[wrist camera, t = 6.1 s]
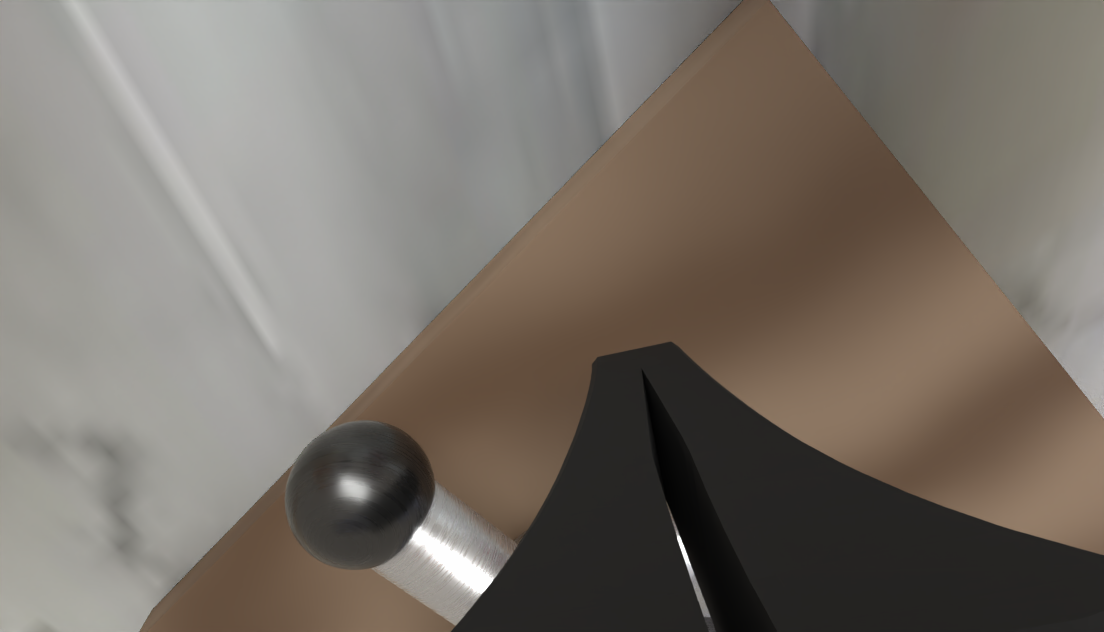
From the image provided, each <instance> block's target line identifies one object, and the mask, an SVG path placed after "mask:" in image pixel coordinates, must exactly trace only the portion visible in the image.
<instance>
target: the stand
mask: <svg viewBox="0 0 1104 632" xmlns="http://www.w3.org/2000/svg"><path fill="white" fill-rule="evenodd" d="M670 341H671V342H673V343H674V344H676V345H677V346H679V347H680V348H681V349H682V350H683V351H684V352H685V353H686V354H687V355H688V356H689V357H690V358H691V359H692V360H693V361H694V362H695V363H696V364H697V365H699V366H700V367H701V368H702V369H703V370H704V371H705V372H707V373H708V374H709V375H710V376H711V377H712V378H713V379H715V380H716V381H717V382H718V383H720V384H721V385H722V386H723V387H724V388H726V389H727V390H728V391H730V392H731V393H732V394H734V395H735V396H736V397H737V398H739V399H740V400H741V401H743V402H744V403H745V404H746V405H748V406H749V407H751V408H752V409H753V410H755V411H756V412H758V413H759V414H760V415H762V416H763V417H765V418H766V419H768V420H769V421H771V422H772V423H774V424H775V425H777V426H778V427H780V428H781V429H783V430H784V431H786V432H787V433H789V434H791V435H792V436H794V437H795V438H797V439H799V440H800V441H802V442H804V443H806V444H807V445H809V446H811V447H813V448H815V449H817V450H818V451H820V452H822V453H824V454H826V455H828V456H830V457H831V458H833V459H835V460H837V461H839V462H841V463H843V464H845V465H847V466H849V467H851V468H853V469H855V470H858V471H860V472H862V473H864V474H866V475H869V476H871V477H873V478H875V479H878V480H880V481H882V482H885V483H887V484H889V485H891V486H894V487H896V488H898V489H901V490H903V491H905V492H908V493H910V494H913V495H915V496H918V497H920V498H923V499H926V500H928V501H931V502H933V503H936V504H939V505H941V506H944V507H947V508H950V509H953V510H955V511H958V512H961V513H964V514H967V515H970V516H973V517H976V518H979V519H981V520H984V521H987V522H990V523H993V524H996V525H999V526H1002V527H1005V528H1008V529H1012V530H1015V531H1019V532H1023V533H1026V534H1030V535H1033V536H1037V537H1040V538H1044V539H1047V540H1051V541H1055V542H1058V543H1062V544H1065V545H1069V546H1072V547H1076V548H1080V549H1083V550H1087V551H1090V552H1094V553H1097V554H1101V555H1104V419H1103V417H1102V416H1101V415H1100V414H1099V412H1098V411H1097V410H1096V409H1095V407H1094V406H1093V405H1092V403H1091V402H1090V401H1089V400H1088V398H1087V397H1086V396H1085V395H1084V393H1083V392H1082V391H1081V390H1080V388H1079V387H1078V386H1077V385H1076V383H1075V382H1074V381H1073V380H1072V378H1071V377H1070V376H1069V375H1068V373H1067V372H1066V371H1065V370H1064V368H1063V367H1062V366H1061V365H1060V363H1059V362H1058V361H1057V360H1056V358H1055V357H1054V356H1053V355H1052V353H1051V352H1050V351H1049V350H1048V348H1047V347H1046V346H1045V345H1044V343H1043V342H1042V341H1041V340H1040V338H1039V337H1038V336H1037V335H1036V333H1035V332H1034V331H1033V330H1032V328H1031V327H1030V326H1029V325H1028V323H1027V322H1026V321H1025V320H1024V318H1023V317H1022V316H1021V315H1020V313H1019V312H1018V311H1017V310H1016V308H1015V307H1014V306H1013V305H1012V303H1011V302H1010V301H1009V300H1008V298H1007V297H1006V296H1005V295H1004V293H1003V292H1002V291H1001V290H1000V288H999V287H998V286H997V284H996V283H995V282H994V281H993V279H992V278H991V277H990V276H989V274H988V273H987V272H986V271H985V269H984V268H983V267H982V266H981V264H980V263H979V262H978V261H977V259H976V258H975V257H974V256H973V254H972V253H971V252H970V251H969V249H968V248H967V247H966V246H965V244H964V243H963V242H962V241H961V239H960V238H959V237H958V236H957V234H956V233H955V232H954V231H953V229H952V228H951V227H950V226H949V224H948V223H947V222H946V221H945V219H944V218H943V217H942V216H941V214H940V213H939V212H938V211H937V209H936V208H935V207H934V206H933V204H932V203H931V202H930V201H929V199H928V198H927V197H926V196H925V194H924V193H923V192H922V191H921V189H920V188H919V187H918V186H917V184H916V183H915V182H914V181H913V179H912V178H911V177H910V176H909V174H908V173H907V172H906V171H905V169H904V168H903V167H902V165H901V164H900V163H899V162H898V160H897V159H896V158H895V157H894V155H893V154H892V153H891V152H890V150H889V149H888V148H887V147H886V145H885V144H884V143H883V142H882V140H881V139H880V138H879V137H878V135H877V134H876V133H875V132H874V130H873V129H872V128H871V127H870V125H869V124H868V123H867V122H866V120H865V119H864V118H863V117H862V115H861V114H860V113H859V112H858V110H857V109H856V108H855V107H854V105H853V104H852V103H851V102H850V100H849V99H848V98H847V97H846V95H845V94H844V93H843V92H842V90H841V89H840V88H839V87H838V85H837V84H836V83H835V82H834V80H833V79H832V78H831V77H830V75H829V74H828V73H827V72H826V70H825V69H824V68H823V67H822V65H821V64H820V63H819V62H818V60H817V59H816V58H815V57H814V55H813V54H812V53H811V52H810V50H809V49H808V48H807V46H806V45H805V44H804V43H803V41H802V40H801V39H800V38H799V36H798V35H797V34H796V33H795V31H794V30H793V29H792V28H791V26H790V25H789V24H788V23H787V21H786V20H785V19H784V18H783V16H782V15H781V14H780V13H779V11H778V10H777V9H776V8H775V6H774V5H773V4H772V3H771V1H770V0H743V1H742V2H741V3H740V4H739V5H738V6H737V7H736V8H735V10H734V11H733V12H732V13H731V14H730V15H729V16H728V17H727V18H726V19H725V20H724V21H723V22H722V23H721V24H720V25H719V26H718V27H717V28H716V29H715V30H714V31H713V32H712V33H711V34H710V35H709V36H708V37H707V38H706V39H705V40H704V41H703V42H702V44H701V45H700V46H699V47H698V48H697V49H696V50H695V51H694V52H693V53H692V54H691V55H690V56H689V57H688V58H687V59H686V60H685V61H684V62H683V63H682V64H681V65H680V66H679V67H678V68H677V69H676V70H675V71H674V72H673V73H672V74H671V75H670V77H669V78H668V79H667V80H666V81H665V82H664V83H663V84H662V85H661V86H660V87H659V88H658V89H657V90H656V91H655V92H654V93H653V94H652V95H651V96H650V97H649V98H648V99H647V100H646V101H645V102H644V103H643V104H642V105H641V106H640V107H639V108H638V110H637V111H636V112H635V113H634V114H633V115H632V116H631V117H630V118H629V119H628V120H627V121H626V122H625V123H624V124H623V125H622V126H621V127H620V128H619V129H618V130H617V131H616V132H615V133H614V134H613V135H612V136H611V137H610V138H609V139H608V140H607V141H606V142H605V144H604V145H603V146H602V147H601V148H600V149H599V150H598V151H597V152H596V153H595V154H594V155H593V156H592V157H591V158H590V159H589V160H588V161H587V162H586V163H585V164H584V165H583V166H582V167H581V168H580V169H579V170H578V171H577V172H576V173H575V174H574V175H573V177H572V178H571V179H570V180H569V181H568V182H567V183H566V184H565V185H564V186H563V187H562V188H561V189H560V190H559V191H558V192H557V193H556V194H555V195H554V196H553V197H552V198H551V199H550V200H549V201H548V202H547V203H546V204H545V205H544V206H543V207H542V208H541V210H540V211H539V212H538V213H537V214H536V215H535V216H534V217H533V218H532V219H531V220H530V221H529V222H528V223H527V224H526V225H525V226H524V227H523V228H522V229H521V230H520V231H519V232H518V233H517V234H516V235H515V236H514V237H513V238H512V239H511V240H510V241H509V242H508V244H507V245H506V246H505V247H504V248H503V249H502V250H501V251H500V252H499V253H498V254H497V255H496V256H495V257H494V258H493V259H492V260H491V261H490V262H489V263H488V264H487V265H486V266H485V267H484V268H483V269H482V270H481V271H480V272H479V273H478V274H477V275H476V277H475V278H474V279H473V280H472V281H471V282H470V283H469V284H468V285H467V286H466V287H465V288H464V289H463V290H462V291H461V292H460V293H459V294H458V295H457V296H456V297H455V298H454V299H453V300H452V301H451V302H450V303H449V304H448V305H447V306H446V307H445V308H444V310H443V311H442V312H441V313H440V314H439V315H438V316H437V317H436V318H435V319H434V320H433V321H432V322H431V323H430V324H429V325H428V326H427V327H426V328H425V329H424V330H423V331H422V332H421V333H420V334H419V335H418V336H417V337H416V338H415V339H414V340H413V341H412V342H411V344H410V345H409V346H408V347H407V348H406V349H405V350H404V351H403V352H402V353H401V354H400V355H399V356H398V357H397V358H396V359H395V360H394V361H393V362H392V363H391V364H390V365H389V366H388V367H387V368H386V369H385V370H384V371H383V372H382V373H381V374H380V375H379V377H378V378H377V379H376V380H375V381H374V382H373V383H372V384H371V385H370V386H369V387H368V388H367V389H366V390H365V391H364V392H363V393H362V394H361V395H360V396H359V397H358V398H357V399H356V400H355V401H354V402H353V403H352V404H351V405H350V406H349V407H348V408H347V410H346V411H345V412H344V413H343V414H342V415H341V416H340V417H339V418H338V419H337V420H336V421H335V422H334V423H333V424H332V425H331V426H330V427H329V428H328V429H327V430H329V429H331V428H333V427H335V426H338V425H340V424H343V423H347V422H352V421H360V420H372V421H379V422H384V423H387V424H390V425H393V426H395V427H397V428H399V429H401V430H403V431H404V432H406V433H407V434H408V435H410V436H411V437H412V438H413V439H414V440H415V441H416V442H417V443H418V444H419V445H420V446H421V448H422V449H423V451H424V452H425V454H426V455H427V457H428V459H429V461H430V464H431V467H432V470H433V473H434V480H436V481H437V482H438V483H439V484H441V485H442V486H443V487H445V488H446V489H447V490H448V491H450V492H451V493H452V494H454V495H455V496H456V497H457V498H459V499H460V500H461V501H463V502H464V503H465V504H466V505H468V506H469V507H470V508H472V509H473V510H474V511H476V512H477V513H478V514H479V515H481V516H482V517H483V518H485V519H486V520H487V521H488V522H490V523H491V524H492V525H494V526H495V527H496V528H497V529H499V530H500V531H501V532H503V533H504V534H505V535H507V536H508V537H509V538H510V539H512V540H513V541H514V540H515V539H516V538H518V537H519V536H520V535H521V534H523V533H524V532H525V531H527V530H528V528H529V527H530V525H531V524H532V522H533V520H534V519H535V517H536V515H537V514H538V512H539V510H540V508H541V506H542V505H543V503H544V501H545V499H546V498H547V496H548V494H549V492H550V490H551V488H552V486H553V484H554V482H555V480H556V478H557V476H558V474H559V471H560V469H561V467H562V464H563V462H564V460H565V457H566V455H567V453H568V450H569V448H570V446H571V443H572V441H573V438H574V436H575V433H576V430H577V427H578V424H579V421H580V418H581V415H582V412H583V409H584V405H585V402H586V398H587V394H588V390H589V385H590V380H591V373H592V364H593V362H594V361H595V360H596V358H597V357H600V356H604V355H609V354H614V353H619V352H623V351H628V350H633V349H637V348H642V347H647V346H652V345H656V344H661V343H666V342H670ZM327 430H326V431H327ZM293 465H294V464H293ZM293 465H292V466H291V467H290V468H289V469H288V470H287V471H286V472H285V473H284V474H283V475H282V477H281V478H280V479H279V480H278V481H277V482H276V483H275V484H274V485H273V486H272V487H271V488H270V489H269V490H268V491H267V492H266V493H265V494H264V495H263V496H262V497H261V498H260V499H259V500H258V501H257V502H256V503H255V504H254V505H253V506H252V507H251V508H250V510H249V511H248V512H247V513H246V514H245V515H244V516H243V517H242V518H241V519H240V520H239V521H238V522H237V523H236V524H235V525H234V526H233V527H232V528H231V529H230V530H229V531H228V532H227V533H226V534H225V535H224V536H223V537H222V538H221V539H220V540H219V541H218V542H217V544H216V545H215V546H214V547H213V548H212V549H211V550H210V551H209V552H208V553H207V554H206V555H205V556H204V557H203V558H202V559H201V560H200V561H199V562H198V563H197V564H196V565H195V566H194V567H193V568H192V569H191V570H190V571H189V572H188V573H187V574H186V575H185V577H184V578H183V579H182V580H181V581H180V582H179V583H178V584H177V585H176V586H175V587H174V588H173V589H172V590H171V591H170V592H169V593H168V594H167V595H166V596H165V597H164V598H163V599H162V600H161V601H160V602H159V603H158V604H157V605H156V606H155V607H154V608H153V610H152V611H151V613H150V614H149V616H148V618H147V619H146V621H145V623H144V625H143V626H142V628H141V630H140V631H139V632H451V631H452V630H453V628H454V627H455V625H454V624H452V623H451V622H449V621H448V620H446V619H445V618H443V617H442V616H440V615H439V614H437V613H436V612H434V611H433V610H431V609H430V608H428V607H427V606H425V605H424V604H422V603H421V602H420V601H418V600H417V599H415V598H414V597H412V596H411V595H409V594H408V593H406V592H405V591H403V590H402V589H400V588H399V587H397V586H396V585H394V584H393V583H391V582H390V581H388V580H387V579H385V578H384V577H383V576H381V575H380V574H378V573H377V572H375V571H374V570H372V569H371V568H370V569H364V570H346V569H340V568H336V567H332V566H330V565H327V564H325V563H322V562H320V561H319V560H317V559H315V558H314V557H313V556H311V555H310V554H309V553H308V552H307V551H306V550H305V549H304V548H303V547H302V546H301V545H300V544H299V543H298V541H297V540H296V538H295V536H294V535H293V533H292V531H291V529H290V526H289V523H288V519H287V515H286V511H285V491H286V485H287V481H288V477H289V474H290V472H291V469H292V467H293Z"/></svg>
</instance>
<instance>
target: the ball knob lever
mask: <svg viewBox="0 0 1104 632" xmlns="http://www.w3.org/2000/svg"><path fill="white" fill-rule="evenodd" d="M667 506H668V504H667ZM668 509H669V506H668ZM285 511H286V515H287V519H288V523H289V526H290V529H291V531H292V533H293V535H294V536H295V538H296V540H297V541H298V543H299V544H300V545H301V546H302V547H303V548H304V549H305V550H306V551H307V552H308V553H309V554H310V555H311V556H313V557H314V558H315V559H317V560H319V561H320V562H322V563H325V564H327V565H330V566H332V567H336V568H340V569H346V570H364V569H370V568H371V569H372V570H374V571H375V572H377V573H378V574H380V575H381V576H383V577H384V578H385V579H387V580H388V581H390V582H391V583H393V584H394V585H396V586H397V587H399V588H400V589H402V590H403V591H405V592H406V593H408V594H409V595H411V596H412V597H414V598H415V599H417V600H418V601H420V602H421V603H422V604H424V605H425V606H427V607H428V608H430V609H431V610H433V611H434V612H436V613H437V614H439V615H440V616H442V617H443V618H445V619H446V620H448V621H449V622H451V623H452V624H454V625H455V626H456V625H457V624H458V623H459V622H460V620H461V619H462V618H463V617H464V616H465V614H466V613H467V612H468V611H469V609H470V608H471V607H472V606H473V604H474V603H475V602H476V601H477V599H478V598H479V597H480V596H481V594H482V593H483V592H484V591H485V589H486V588H487V587H488V586H489V584H490V583H491V582H492V581H493V579H494V578H495V577H496V576H497V574H498V573H499V572H500V570H501V569H502V567H503V566H504V565H505V563H506V562H507V560H508V559H509V558H510V556H511V555H512V553H513V552H514V550H515V549H516V547H517V546H518V544H519V542H520V541H521V539H522V538H523V536H524V535H525V533H526V532H527V531H525V532H524V533H523V534H521V535H520V536H519V537H518V538H516V539H515V540H514V541H513V540H512V539H510V538H509V537H508V536H507V535H505V534H504V533H503V532H501V531H500V530H499V529H497V528H496V527H495V526H494V525H492V524H491V523H490V522H488V521H487V520H486V519H485V518H483V517H482V516H481V515H479V514H478V513H477V512H476V511H474V510H473V509H472V508H470V507H469V506H468V505H466V504H465V503H464V502H463V501H461V500H460V499H459V498H457V497H456V496H455V495H454V494H452V493H451V492H450V491H448V490H447V489H446V488H445V487H443V486H442V485H441V484H439V483H438V482H437V481H436V480H434V473H433V470H432V467H431V464H430V461H429V459H428V457H427V455H426V454H425V452H424V451H423V449H422V448H421V446H420V445H419V444H418V443H417V442H416V441H415V440H414V439H413V438H412V437H411V436H410V435H408V434H407V433H406V432H404V431H403V430H401V429H399V428H397V427H395V426H393V425H390V424H387V423H384V422H379V421H372V420H360V421H352V422H347V423H343V424H340V425H338V426H335V427H333V428H331V429H329V430H327V431H325V432H323V433H322V434H321V435H319V436H318V437H317V438H315V439H314V440H313V441H312V442H311V443H310V444H309V445H308V446H307V447H306V448H305V449H304V450H303V451H302V453H301V454H300V455H299V457H298V458H297V460H296V462H295V463H294V465H293V467H292V469H291V472H290V474H289V477H288V481H287V485H286V491H285ZM669 513H670V516H671V519H672V522H673V525H674V529H675V532H676V535H677V538H678V541H679V544H680V547H681V550H682V553H683V557H684V560H685V563H686V566H687V569H688V572H689V575H690V578H691V581H692V584H693V587H694V590H695V593H696V596H697V599H698V601H699V604H700V607H701V610H702V613H703V616H704V619H705V622H706V624H707V627H708V630H709V632H716V631H715V628H714V625H713V622H712V619H711V617H710V614H709V611H708V609H707V606H706V603H705V601H704V598H703V596H702V593H701V590H700V588H699V585H698V583H697V580H696V577H695V575H694V572H693V569H692V567H691V564H690V562H689V559H688V556H687V554H686V551H685V548H684V546H683V543H682V541H681V538H680V535H679V533H678V530H677V527H676V525H675V522H674V519H673V517H672V514H671V512H670V509H669Z"/></svg>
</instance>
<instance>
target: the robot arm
mask: <svg viewBox="0 0 1104 632" xmlns="http://www.w3.org/2000/svg"><path fill="white" fill-rule="evenodd" d="M667 504H668V506H669V509H670V512H671V514H672V517H673V519H674V522H675V525H676V527H677V530H678V533H679V535H680V538H681V541H682V543H683V546H684V548H685V551H686V554H687V556H688V559H689V562H690V564H691V567H692V569H693V572H694V575H695V577H696V580H697V583H698V585H699V588H700V590H701V593H702V596H703V598H704V601H705V603H706V606H707V609H708V611H709V614H710V617H711V619H712V622H713V625H714V628H715V631H716V632H1104V555H1101V554H1097V553H1094V552H1090V551H1087V550H1083V549H1080V548H1076V547H1072V546H1069V545H1065V544H1062V543H1058V542H1055V541H1051V540H1047V539H1044V538H1040V537H1037V536H1033V535H1030V534H1026V533H1023V532H1019V531H1015V530H1012V529H1008V528H1005V527H1002V526H999V525H996V524H993V523H990V522H987V521H984V520H981V519H979V518H976V517H973V516H970V515H967V514H964V513H961V512H958V511H955V510H953V509H950V508H947V507H944V506H941V505H939V504H936V503H933V502H931V501H928V500H926V499H923V498H920V497H918V496H915V495H913V494H910V493H908V492H905V491H903V490H901V489H898V488H896V487H894V486H891V485H889V484H887V483H885V482H882V481H880V480H878V479H875V478H873V477H871V476H869V475H866V474H864V473H862V472H860V471H858V470H855V469H853V468H851V467H849V466H847V465H845V464H843V463H841V462H839V461H837V460H835V459H833V458H831V457H830V456H828V455H826V454H824V453H822V452H820V451H818V450H817V449H815V448H813V447H811V446H809V445H807V444H806V443H804V442H802V441H800V440H799V439H797V438H795V437H794V436H792V435H791V434H789V433H787V432H786V431H784V430H783V429H781V428H780V427H778V426H777V425H775V424H774V423H772V422H771V421H769V420H768V419H766V418H765V417H763V416H762V415H760V414H759V413H758V412H756V411H755V410H753V409H752V408H751V407H749V406H748V405H746V404H745V403H744V402H743V401H741V400H740V399H739V398H737V397H736V396H735V395H734V394H732V393H731V392H730V391H728V390H727V389H726V388H724V387H723V386H722V385H721V384H720V383H718V382H717V381H716V380H715V379H713V378H712V377H711V376H710V375H709V374H708V373H707V372H705V371H704V370H703V369H702V368H701V367H700V366H699V365H697V364H696V363H695V362H694V361H693V360H692V359H691V358H690V357H689V356H688V355H687V354H686V353H685V352H684V351H683V350H682V349H681V348H680V347H679V346H677V345H676V344H674V343H673V342H671V341H670V342H666V343H661V344H656V345H652V346H647V347H642V348H637V349H633V350H628V351H623V352H619V353H614V354H609V355H604V356H600V357H597V358H596V360H595V361H594V362H593V364H592V373H591V380H590V385H589V390H588V394H587V398H586V402H585V405H584V409H583V412H582V415H581V418H580V421H579V424H578V427H577V430H576V433H575V436H574V438H573V441H572V443H571V446H570V448H569V450H568V453H567V455H566V457H565V460H564V462H563V464H562V467H561V469H560V471H559V474H558V476H557V478H556V480H555V482H554V484H553V486H552V488H551V490H550V492H549V494H548V496H547V498H546V499H545V501H544V503H543V505H542V506H541V508H540V510H539V512H538V514H537V515H536V517H535V519H534V520H533V522H532V524H531V525H530V527H529V528H528V530H527V532H526V533H525V535H524V536H523V538H522V539H521V541H520V542H519V544H518V546H517V547H516V549H515V550H514V552H513V553H512V555H511V556H510V558H509V559H508V560H507V562H506V563H505V565H504V566H503V567H502V569H501V570H500V572H499V573H498V574H497V576H496V577H495V578H494V579H493V581H492V582H491V583H490V584H489V586H488V587H487V588H486V589H485V591H484V592H483V593H482V594H481V596H480V597H479V598H478V599H477V601H476V602H475V603H474V604H473V606H472V607H471V608H470V609H469V611H468V612H467V613H466V614H465V616H464V617H463V618H462V619H461V620H460V622H459V623H458V624H457V625H456V626H455V627H454V628H453V630H452V631H451V632H709V630H708V627H707V624H706V622H705V619H704V616H703V613H702V610H701V607H700V604H699V601H698V599H697V596H696V593H695V590H694V587H693V584H692V581H691V578H690V575H689V572H688V569H687V566H686V563H685V560H684V557H683V553H682V550H681V547H680V544H679V541H678V538H677V535H676V532H675V529H674V525H673V522H672V519H671V516H670V513H669V509H668V506H667Z"/></svg>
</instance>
